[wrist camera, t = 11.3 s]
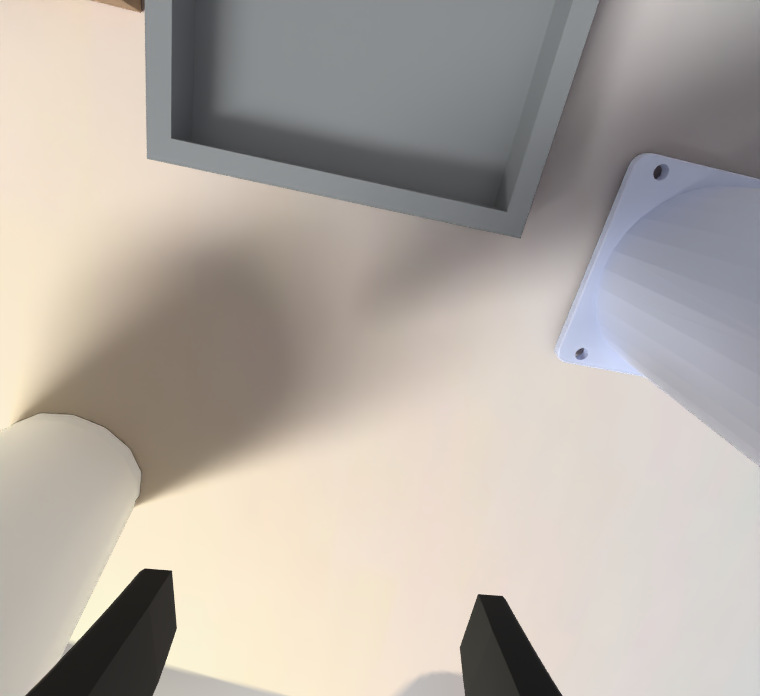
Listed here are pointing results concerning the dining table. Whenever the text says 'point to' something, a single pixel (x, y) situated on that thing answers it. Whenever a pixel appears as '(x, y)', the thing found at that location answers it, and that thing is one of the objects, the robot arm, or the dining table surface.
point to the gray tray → (368, 98)
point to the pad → (123, 4)
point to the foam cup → (55, 534)
